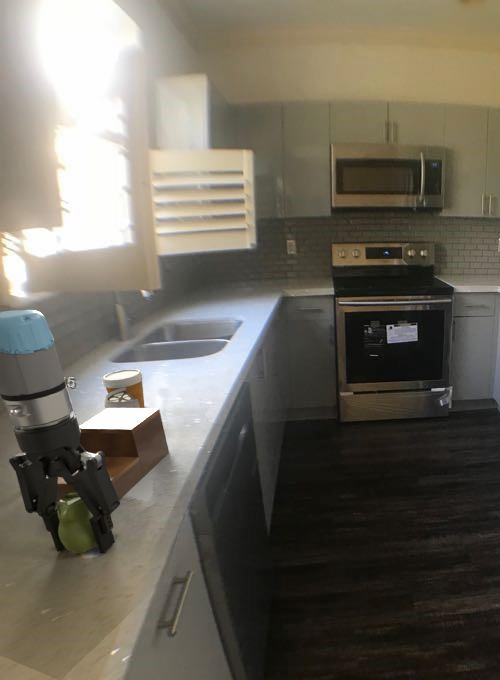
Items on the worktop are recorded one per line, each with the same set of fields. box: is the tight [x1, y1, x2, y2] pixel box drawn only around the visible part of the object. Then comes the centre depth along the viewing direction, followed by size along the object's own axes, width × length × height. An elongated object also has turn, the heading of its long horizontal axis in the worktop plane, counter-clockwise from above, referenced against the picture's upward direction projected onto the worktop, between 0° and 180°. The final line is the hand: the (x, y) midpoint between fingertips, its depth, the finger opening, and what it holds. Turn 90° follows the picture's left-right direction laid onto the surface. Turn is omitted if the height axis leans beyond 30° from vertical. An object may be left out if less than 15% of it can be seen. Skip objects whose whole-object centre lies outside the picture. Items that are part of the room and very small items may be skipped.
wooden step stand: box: [57, 407, 170, 504], centre depth 93 cm, size 12×20×11 cm, turn 175°
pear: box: [57, 493, 98, 554], centre depth 73 cm, size 6×5×10 cm
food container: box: [104, 387, 140, 410], centre depth 112 cm, size 12×6×10 cm, turn 42°
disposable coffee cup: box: [101, 368, 146, 408], centre depth 121 cm, size 10×10×12 cm
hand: (86, 546), depth 74 cm, fingers open, 7 cm apart
